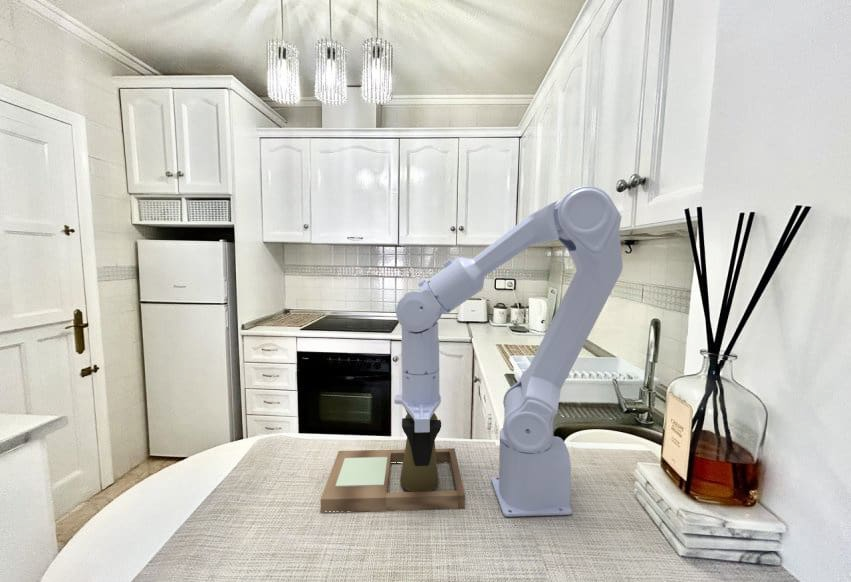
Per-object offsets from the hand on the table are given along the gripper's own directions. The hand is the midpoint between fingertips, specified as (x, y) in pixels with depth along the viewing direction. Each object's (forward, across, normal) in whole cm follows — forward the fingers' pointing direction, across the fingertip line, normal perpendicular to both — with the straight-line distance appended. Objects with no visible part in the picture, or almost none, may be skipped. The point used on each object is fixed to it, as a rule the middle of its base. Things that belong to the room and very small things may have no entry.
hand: (421, 453), depth 54 cm
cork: (+4, 0, 0) cm, 4 cm away
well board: (+5, 0, -5) cm, 7 cm away
